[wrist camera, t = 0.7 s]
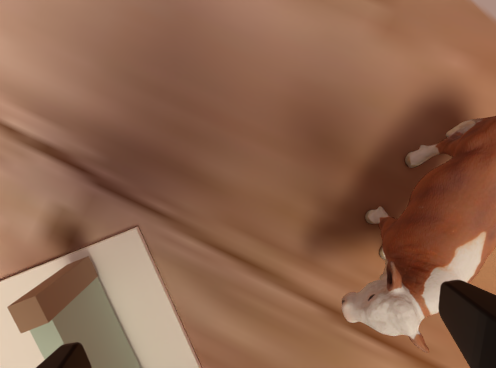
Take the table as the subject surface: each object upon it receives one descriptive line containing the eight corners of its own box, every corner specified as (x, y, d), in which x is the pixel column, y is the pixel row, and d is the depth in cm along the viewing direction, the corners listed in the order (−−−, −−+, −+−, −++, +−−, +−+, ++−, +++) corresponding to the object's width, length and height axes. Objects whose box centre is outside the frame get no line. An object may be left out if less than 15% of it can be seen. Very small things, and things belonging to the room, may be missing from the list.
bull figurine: (304, 261, 22) (343, 332, 14) (446, 102, 21) (581, 76, 12) (352, 302, 22) (418, 394, 14) (494, 148, 21) (655, 151, 13)
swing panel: (151, 388, 22) (123, 469, 16) (132, 396, 22) (96, 479, 16) (88, 255, 20) (35, 296, 15) (67, 264, 20) (6, 307, 15)
